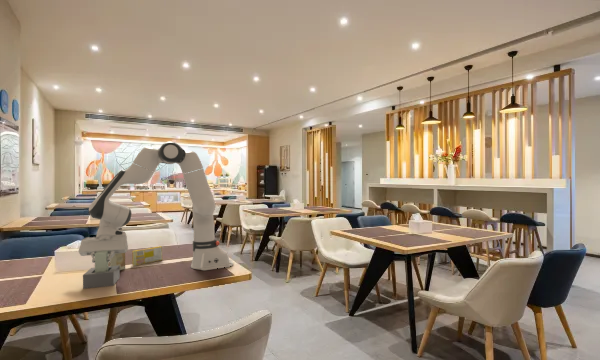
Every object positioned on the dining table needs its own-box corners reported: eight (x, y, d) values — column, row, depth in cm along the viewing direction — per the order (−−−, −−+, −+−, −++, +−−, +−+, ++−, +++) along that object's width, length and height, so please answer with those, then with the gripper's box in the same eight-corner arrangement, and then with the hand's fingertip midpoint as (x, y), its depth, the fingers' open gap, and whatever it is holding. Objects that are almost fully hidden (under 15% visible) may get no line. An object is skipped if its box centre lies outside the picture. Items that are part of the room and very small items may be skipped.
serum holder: (119, 277, 158) (119, 265, 158) (113, 285, 147) (113, 272, 147) (91, 280, 155) (91, 267, 155) (83, 288, 143) (82, 275, 143)
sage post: (108, 271, 154) (108, 250, 153) (105, 274, 149) (105, 252, 149) (97, 272, 152) (97, 251, 152) (95, 275, 148) (94, 253, 148)
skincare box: (117, 271, 169) (116, 248, 169) (109, 271, 170) (109, 248, 170) (126, 268, 175) (125, 245, 175) (119, 267, 176) (118, 245, 176)
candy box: (161, 259, 193) (160, 245, 193) (162, 260, 192) (162, 246, 192) (132, 265, 182) (131, 250, 182) (133, 265, 180) (133, 251, 180)
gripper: (80, 234, 154) (73, 259, 145) (128, 231, 160) (124, 255, 151) (83, 241, 158) (77, 266, 149) (130, 239, 165) (126, 263, 155)
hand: (101, 261), depth 150 cm, fingers closed on sage post, 4 cm apart
